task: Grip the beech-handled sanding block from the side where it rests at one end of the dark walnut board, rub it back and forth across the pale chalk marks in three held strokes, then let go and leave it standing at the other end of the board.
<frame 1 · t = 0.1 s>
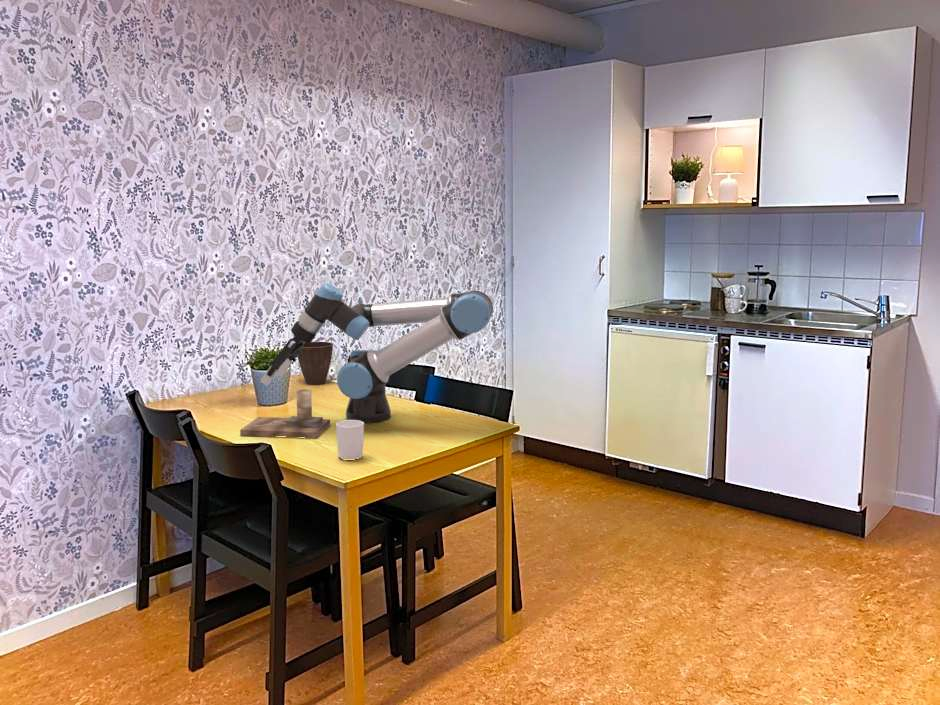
hand: (271, 378, 260), 15 cm above the table, tool tilted 35°, fingers open, 13 cm apart
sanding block: (304, 425, 254), point 2 cm above the table, touching walnut board
plant pot: (315, 383, 326), on the table
white cup: (350, 458, 228), on the table
walnut board: (286, 430, 255), on the table
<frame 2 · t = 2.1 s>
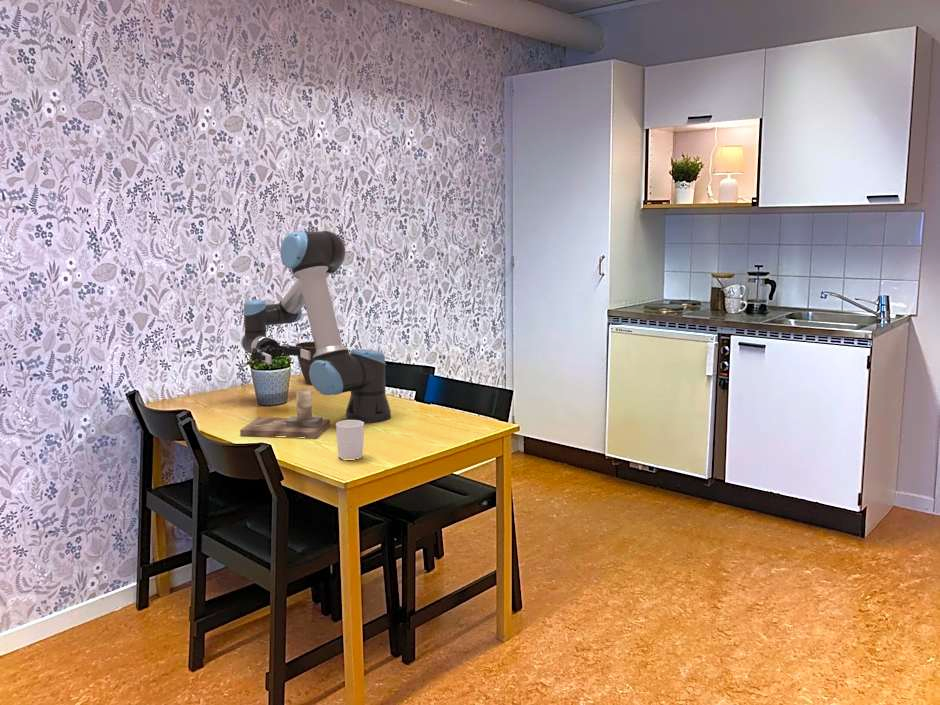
hand: (290, 357, 263), 21 cm above the table, tool horizontal, fingers open, 13 cm apart
nothing on the table moved.
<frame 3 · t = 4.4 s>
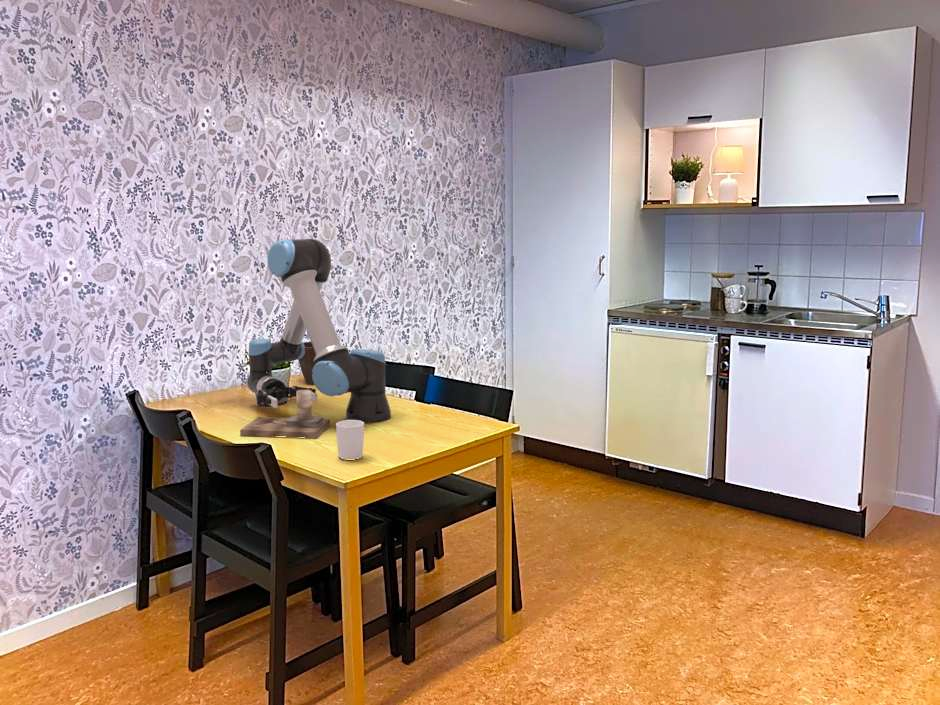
hand: (296, 401, 257), 9 cm above the table, tool horizontal, fingers open, 13 cm apart
nothing on the table moved.
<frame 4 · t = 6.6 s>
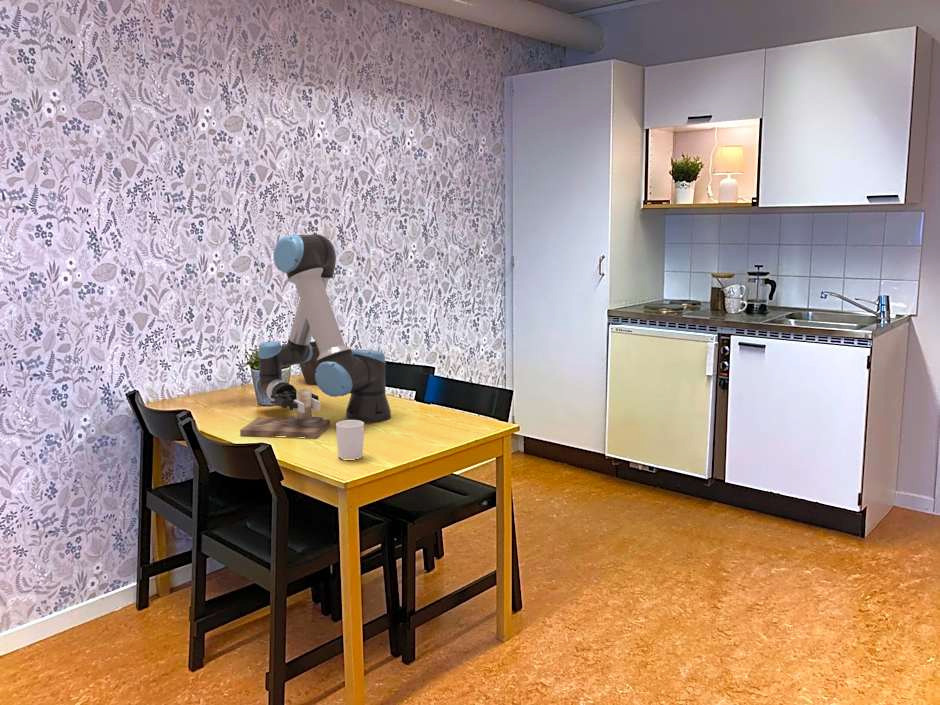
hand: (311, 406, 249), 9 cm above the table, tool horizontal, fingers closed on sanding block, 5 cm apart
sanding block: (304, 425, 254), point 2 cm above the table, touching gripper, walnut board
everything else where it was.
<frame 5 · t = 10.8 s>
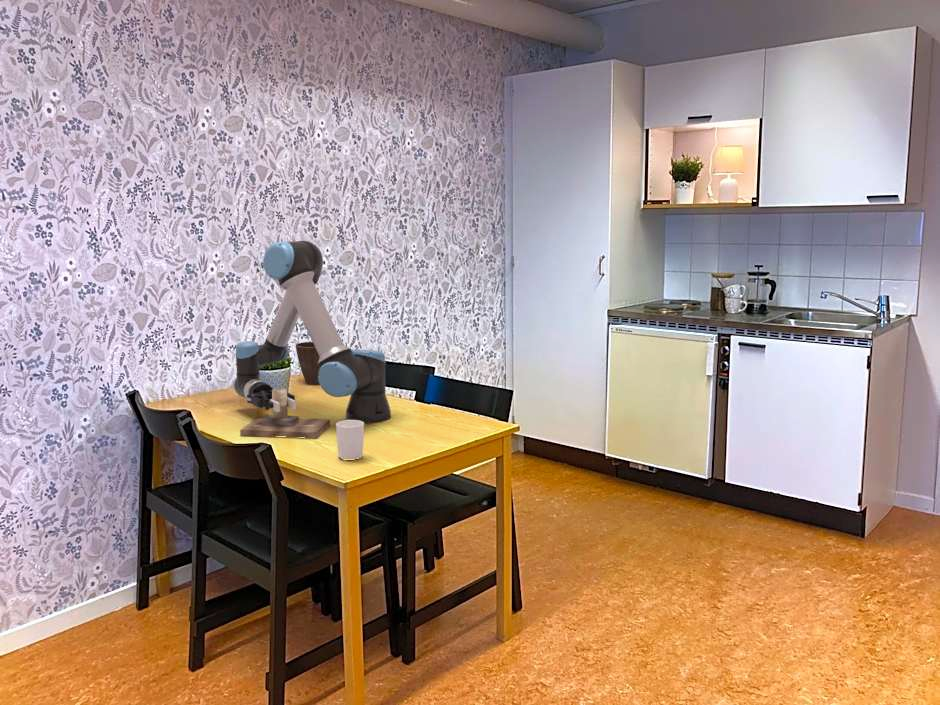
hand: (286, 406, 250), 9 cm above the table, tool horizontal, fingers closed on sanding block, 5 cm apart
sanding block: (280, 423, 256), point 2 cm above the table, touching gripper
everything else where it was.
when the fingers open (9 cm above the table, at t = 14.8 s): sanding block stays where it is, resting on walnut board.
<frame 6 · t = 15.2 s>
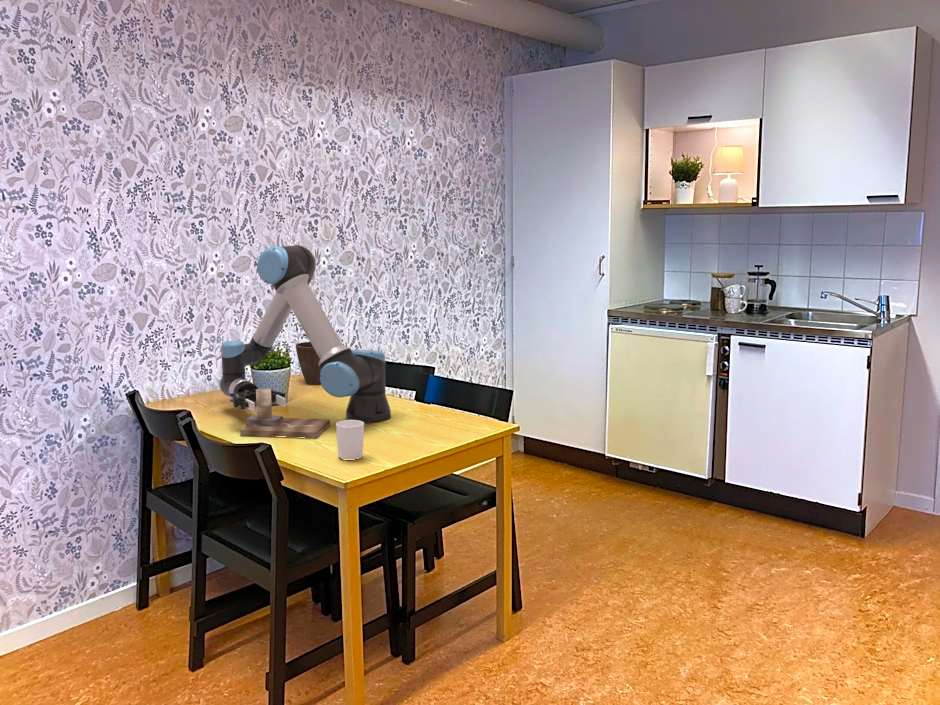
hand: (269, 405, 251), 9 cm above the table, tool horizontal, fingers open, 9 cm apart
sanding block: (264, 423, 256), point 2 cm above the table, touching walnut board
everything else where it was.
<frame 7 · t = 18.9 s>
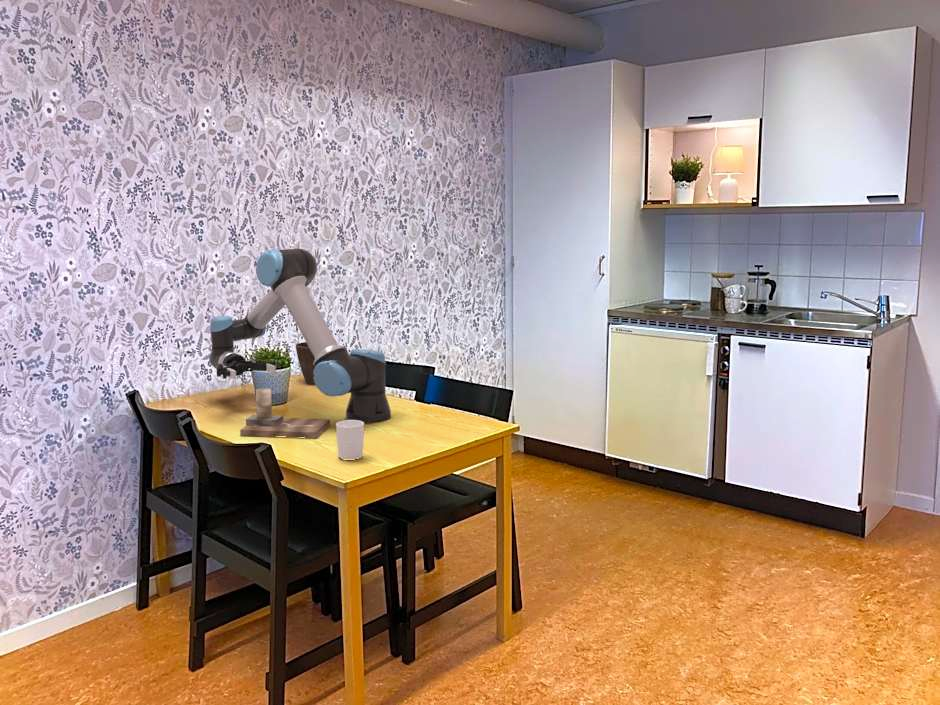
hand: (255, 372, 264), 16 cm above the table, tool horizontal, fingers open, 13 cm apart
nothing on the table moved.
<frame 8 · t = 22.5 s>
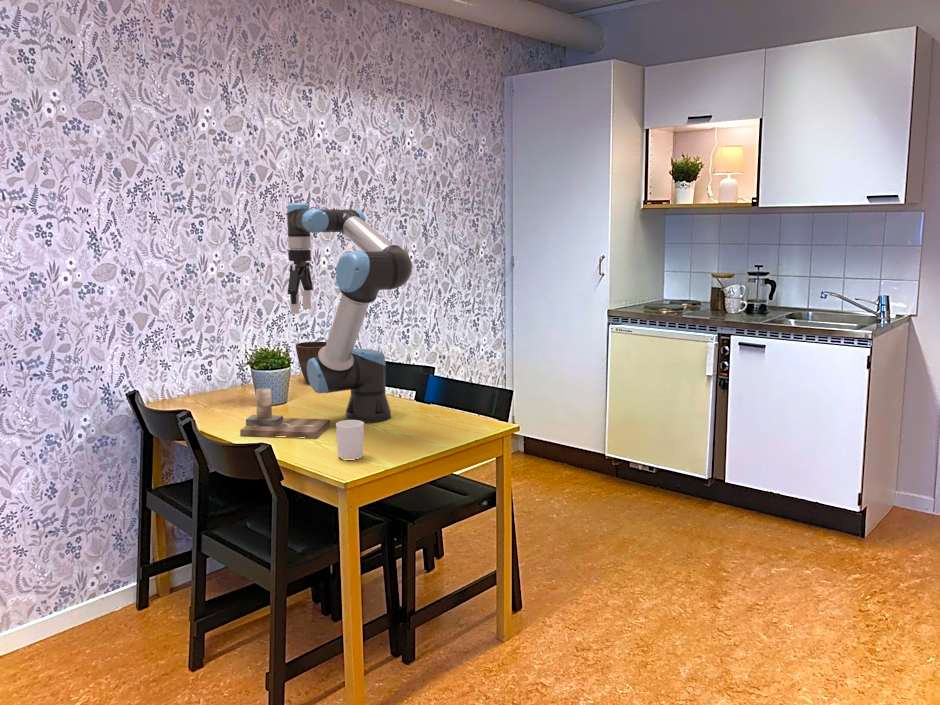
hand: (301, 311, 277), 35 cm above the table, tool pointing down, fingers open, 13 cm apart
nothing on the table moved.
at the end: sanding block inside the target area (0.2 cm from its centre), point 2.0 cm above the table; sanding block tilted 0°; the gripper is holding nothing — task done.
